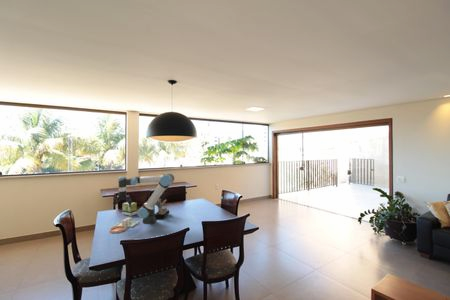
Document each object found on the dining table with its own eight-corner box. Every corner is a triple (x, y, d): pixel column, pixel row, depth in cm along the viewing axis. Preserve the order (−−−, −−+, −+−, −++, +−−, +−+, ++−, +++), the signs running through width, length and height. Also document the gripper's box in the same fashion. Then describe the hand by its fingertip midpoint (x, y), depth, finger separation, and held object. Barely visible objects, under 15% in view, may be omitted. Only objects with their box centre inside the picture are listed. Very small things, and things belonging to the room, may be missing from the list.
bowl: (128, 227, 223) (128, 225, 223) (121, 233, 208) (121, 231, 208) (115, 227, 224) (115, 225, 224) (106, 232, 209) (106, 230, 209)
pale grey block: (127, 224, 231) (127, 219, 231) (125, 226, 226) (125, 220, 226) (123, 224, 231) (123, 219, 231) (121, 226, 226) (121, 220, 226)
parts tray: (138, 222, 239) (138, 221, 239) (132, 227, 224) (132, 226, 224) (121, 222, 240) (121, 221, 240) (113, 227, 225) (113, 225, 225)
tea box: (122, 214, 270) (122, 203, 270) (128, 212, 279) (128, 201, 279) (130, 216, 264) (130, 204, 264) (136, 213, 273) (136, 202, 273)
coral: (163, 219, 251) (163, 201, 251) (146, 219, 252) (146, 201, 252) (169, 213, 276) (169, 196, 276) (154, 212, 277) (154, 196, 277)
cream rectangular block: (130, 222, 238) (130, 217, 238) (129, 224, 233) (129, 218, 233) (127, 222, 238) (127, 217, 238) (125, 224, 233) (125, 218, 233)
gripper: (135, 189, 233) (135, 209, 233) (112, 190, 233) (113, 209, 232) (132, 191, 225) (133, 210, 225) (109, 191, 225) (109, 211, 225)
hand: (123, 210), depth 229 cm, fingers open, 13 cm apart
